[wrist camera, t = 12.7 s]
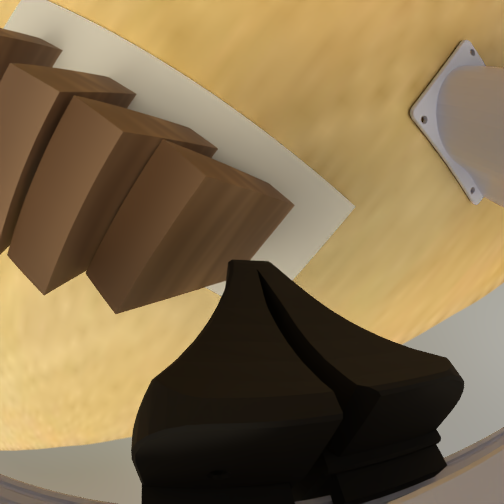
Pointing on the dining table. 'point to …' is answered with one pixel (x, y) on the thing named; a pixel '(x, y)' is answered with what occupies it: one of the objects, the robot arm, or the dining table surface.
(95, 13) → the dining table surface
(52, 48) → the brown wooden block
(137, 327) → the dining table surface
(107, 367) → the dining table surface
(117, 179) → the brown wooden block
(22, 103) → the brown wooden block
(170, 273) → the tile
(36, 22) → the mat
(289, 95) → the dining table surface
